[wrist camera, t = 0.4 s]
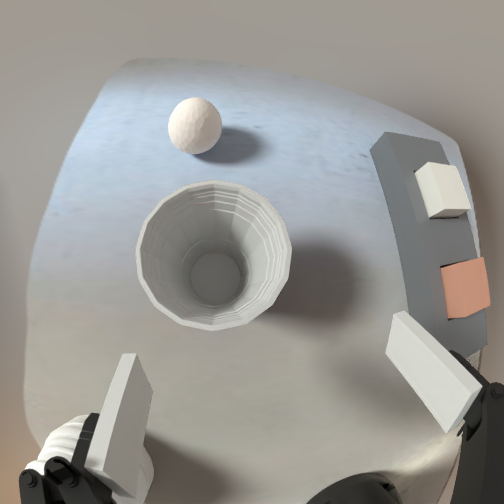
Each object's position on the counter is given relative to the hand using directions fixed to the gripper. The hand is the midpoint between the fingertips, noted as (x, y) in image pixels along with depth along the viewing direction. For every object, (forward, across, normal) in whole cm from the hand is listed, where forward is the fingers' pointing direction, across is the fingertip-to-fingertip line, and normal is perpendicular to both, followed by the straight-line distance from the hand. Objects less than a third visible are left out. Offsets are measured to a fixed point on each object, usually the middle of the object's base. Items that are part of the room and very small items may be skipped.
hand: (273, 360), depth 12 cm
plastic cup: (+18, +3, +3) cm, 18 cm away
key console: (+19, -27, +4) cm, 33 cm away
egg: (+26, +4, -12) cm, 29 cm away
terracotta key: (+12, -27, +7) cm, 30 cm away
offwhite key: (+19, -27, -4) cm, 33 cm away
